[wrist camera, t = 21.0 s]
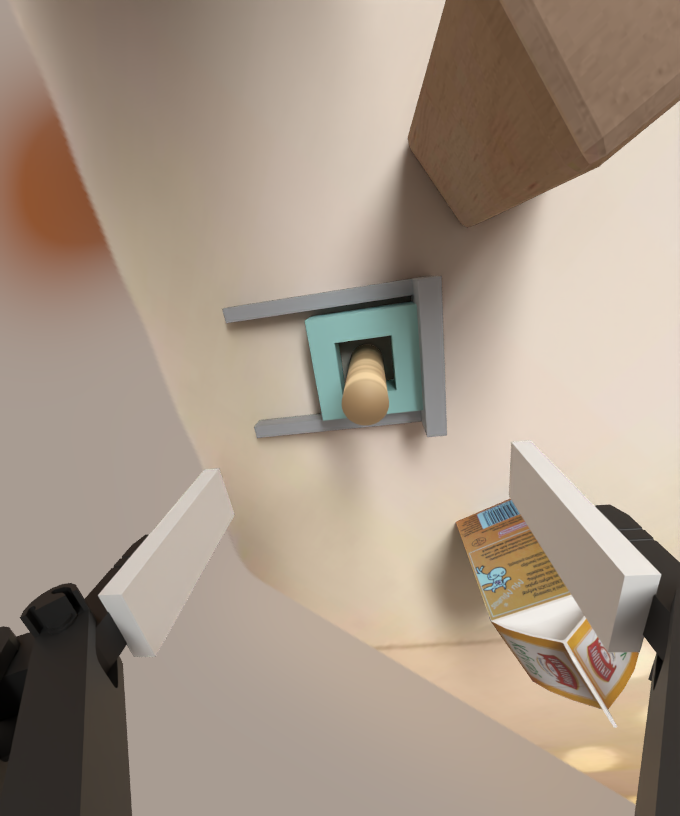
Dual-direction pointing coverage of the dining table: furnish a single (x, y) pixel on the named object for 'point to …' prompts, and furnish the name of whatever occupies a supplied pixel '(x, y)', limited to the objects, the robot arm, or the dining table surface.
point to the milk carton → (540, 611)
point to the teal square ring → (364, 325)
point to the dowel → (365, 387)
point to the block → (539, 94)
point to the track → (430, 346)
